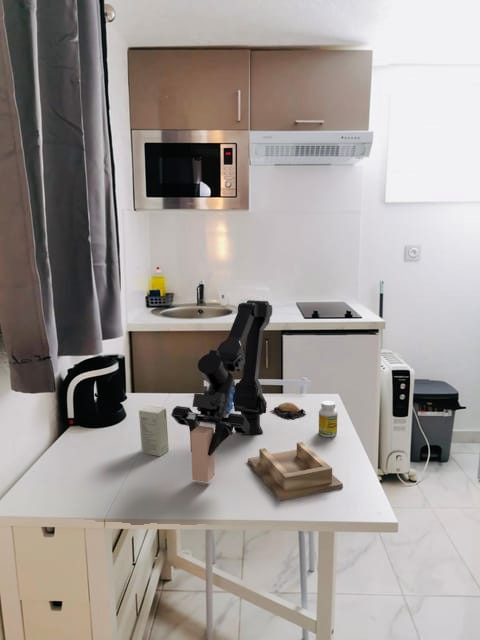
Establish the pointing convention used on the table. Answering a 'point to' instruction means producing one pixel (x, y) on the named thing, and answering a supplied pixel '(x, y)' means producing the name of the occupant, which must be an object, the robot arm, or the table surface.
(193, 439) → the clay block
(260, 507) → the table surface
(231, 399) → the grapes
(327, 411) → the supplement bottle
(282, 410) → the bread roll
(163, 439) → the skincare box
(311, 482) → the rack
